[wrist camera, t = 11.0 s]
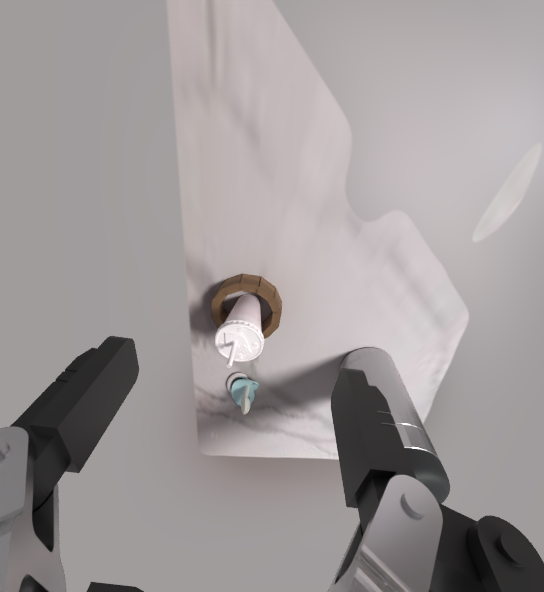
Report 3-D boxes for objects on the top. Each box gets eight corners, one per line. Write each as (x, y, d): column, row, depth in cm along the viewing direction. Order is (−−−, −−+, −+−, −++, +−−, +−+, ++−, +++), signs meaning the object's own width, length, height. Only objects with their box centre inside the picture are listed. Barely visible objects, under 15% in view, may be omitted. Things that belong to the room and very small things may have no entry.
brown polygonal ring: (294, 300, 42) (294, 311, 39) (255, 339, 46) (253, 351, 43) (240, 261, 39) (236, 270, 36) (204, 307, 43) (198, 317, 41)
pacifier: (224, 391, 54) (253, 398, 54) (216, 418, 48) (247, 427, 49) (231, 366, 50) (262, 374, 50) (223, 393, 45) (257, 402, 45)
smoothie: (248, 278, 40) (230, 338, 28) (276, 305, 42) (272, 371, 30) (220, 302, 43) (193, 366, 30) (249, 326, 45) (234, 395, 33)
